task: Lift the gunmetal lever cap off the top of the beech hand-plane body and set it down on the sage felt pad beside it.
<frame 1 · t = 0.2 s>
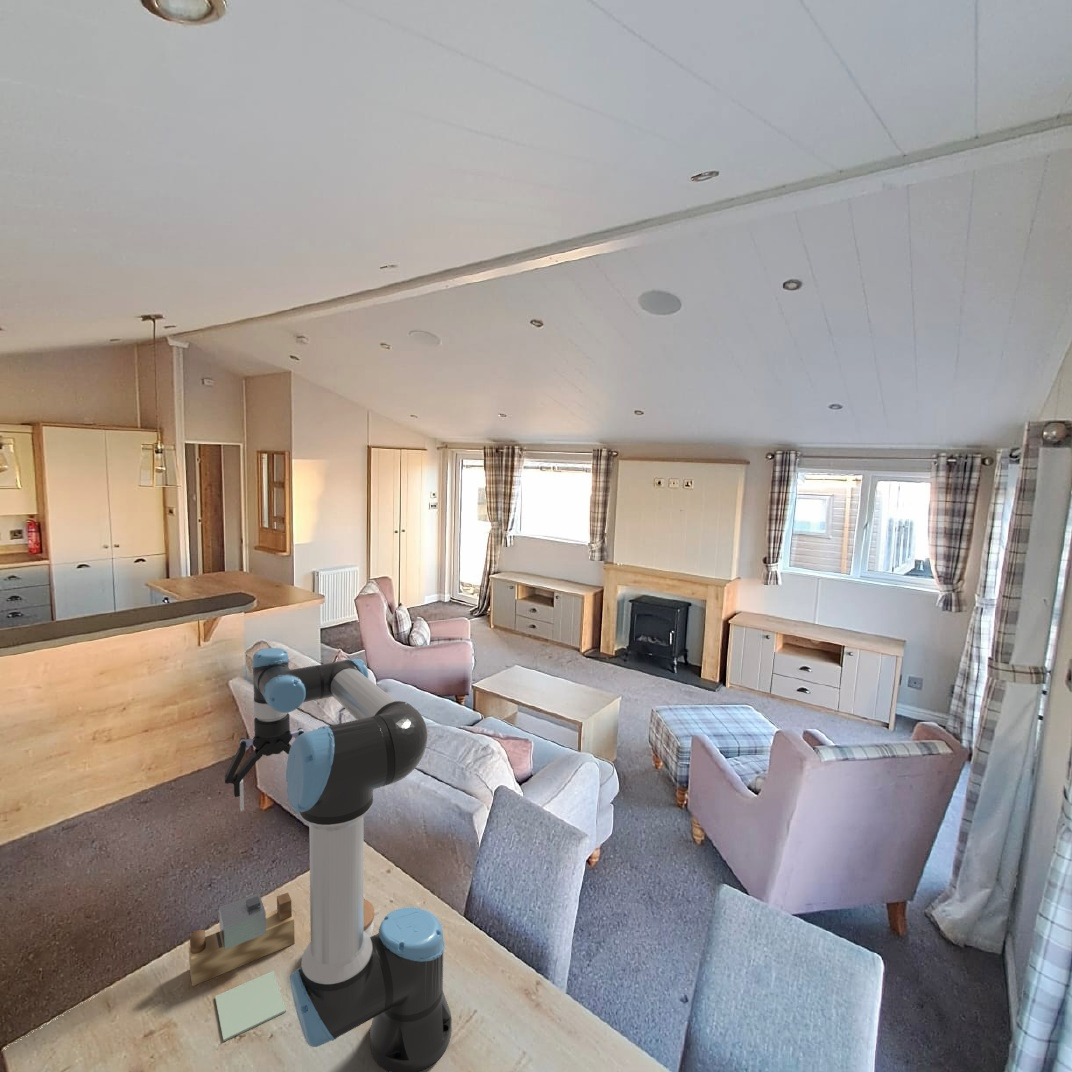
hand: (274, 800, 141), 27 cm above the table, fingers open, 13 cm apart
lidded jar: (349, 947, 133), on the table
felt pad: (250, 1004, 118), on the table
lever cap: (242, 930, 129), point 6 cm above the table, touching plane body
plane body: (243, 955, 129), on the table
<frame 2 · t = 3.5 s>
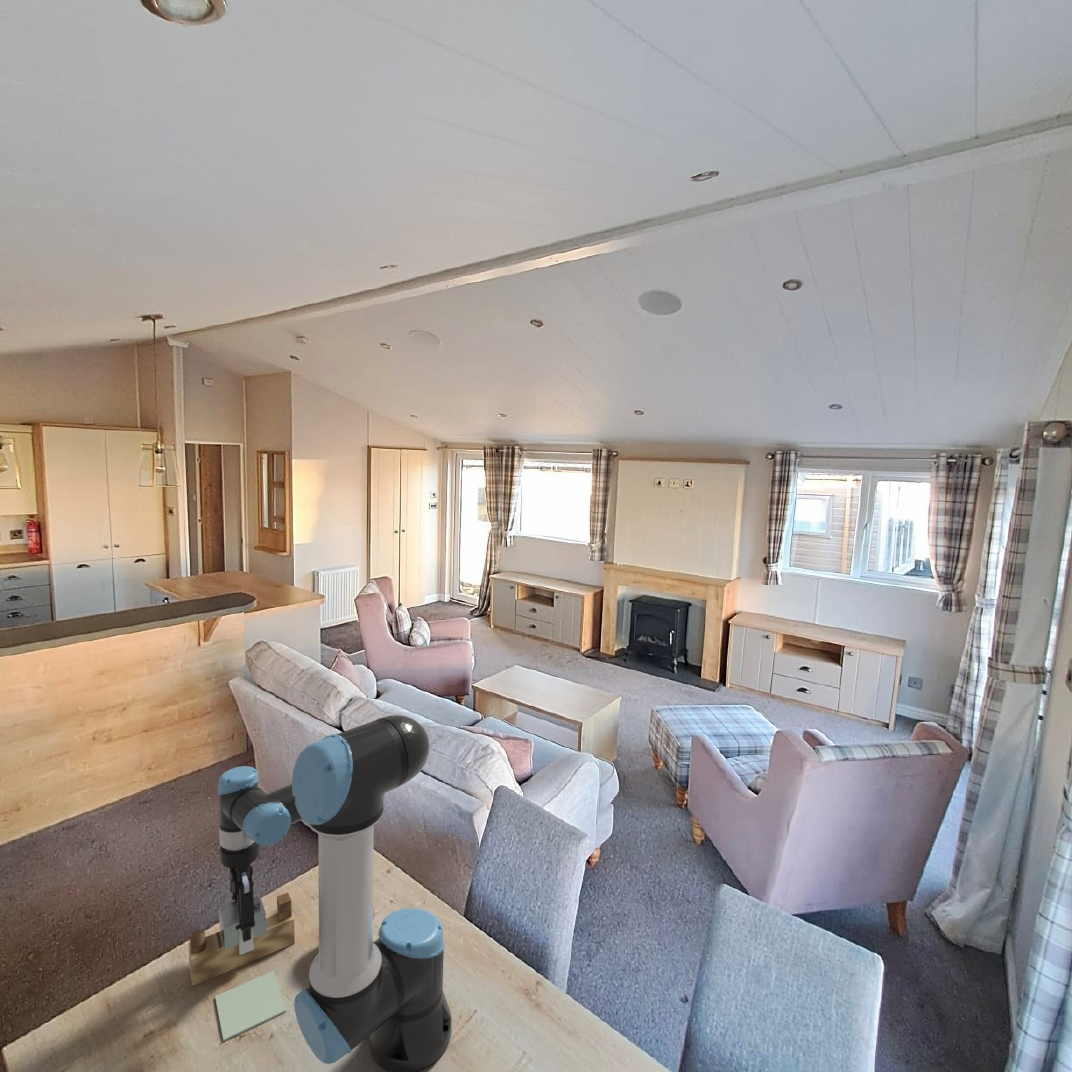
hand: (243, 939, 129), 4 cm above the table, fingers closed on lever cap, 7 cm apart
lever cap: (242, 930, 129), point 6 cm above the table, touching gripper, plane body
everything else where it was.
when the fingers open (1 cm above the table, at t = 9.6 s): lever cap drops 3 cm, resting on felt pad.
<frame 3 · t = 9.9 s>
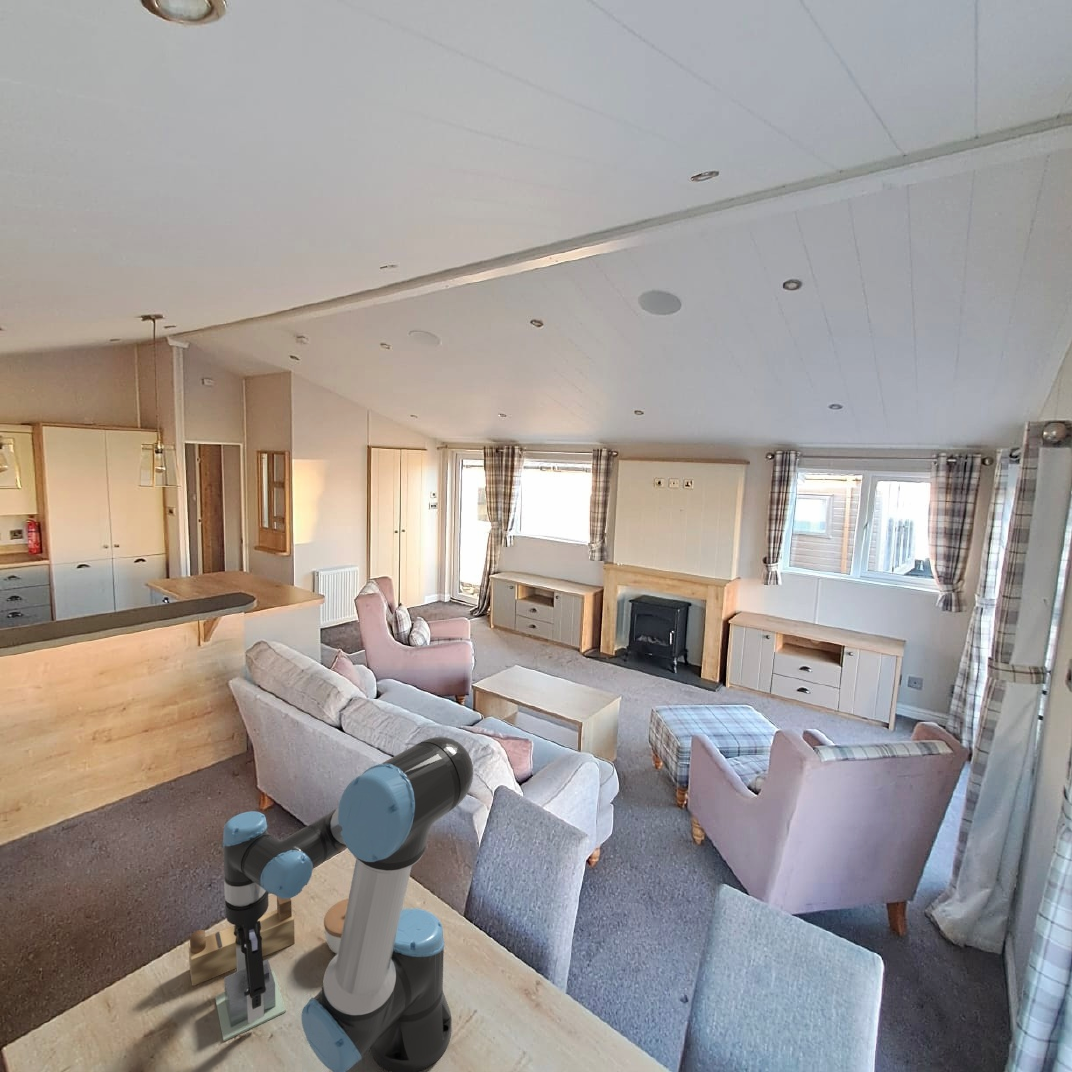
hand: (250, 995, 118), 2 cm above the table, fingers open, 11 cm apart
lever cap: (250, 1003, 118), resting on felt pad
everything else where it was.
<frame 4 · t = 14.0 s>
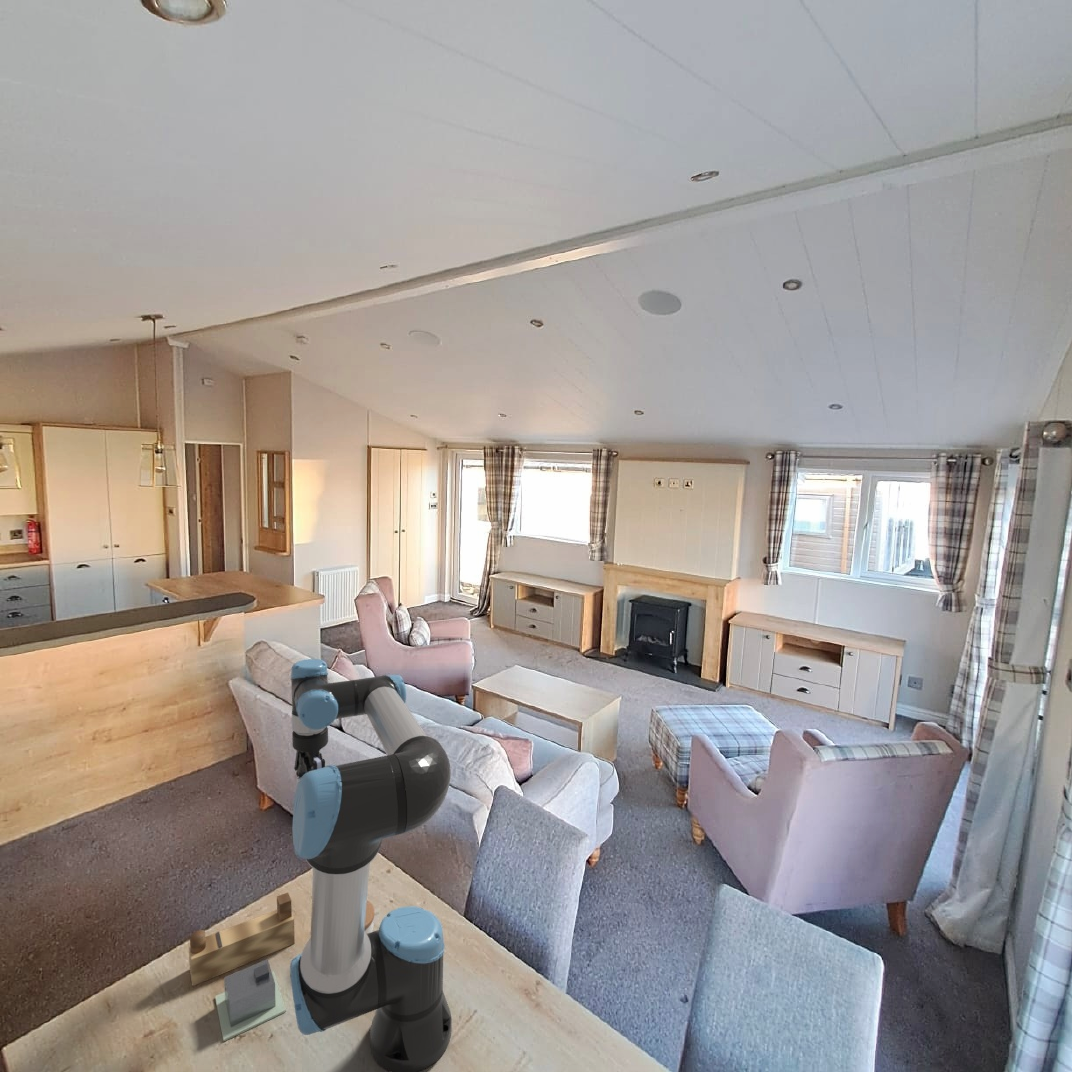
hand: (311, 817, 136), 27 cm above the table, fingers open, 13 cm apart
nothing on the table moved.
at the end: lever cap inside the target area on the felt pad (0.1 cm from its centre), point 0.4 cm above the felt pad's base; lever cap tilted 0°; the gripper is holding nothing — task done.
